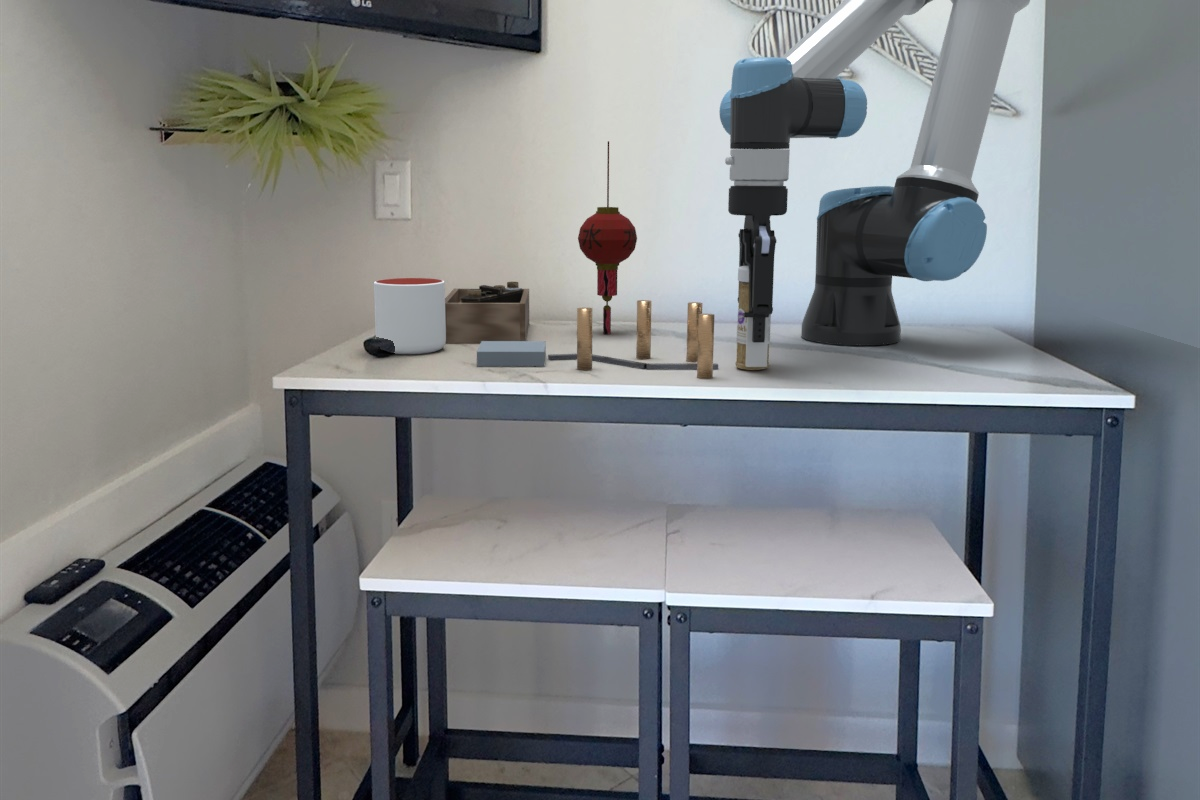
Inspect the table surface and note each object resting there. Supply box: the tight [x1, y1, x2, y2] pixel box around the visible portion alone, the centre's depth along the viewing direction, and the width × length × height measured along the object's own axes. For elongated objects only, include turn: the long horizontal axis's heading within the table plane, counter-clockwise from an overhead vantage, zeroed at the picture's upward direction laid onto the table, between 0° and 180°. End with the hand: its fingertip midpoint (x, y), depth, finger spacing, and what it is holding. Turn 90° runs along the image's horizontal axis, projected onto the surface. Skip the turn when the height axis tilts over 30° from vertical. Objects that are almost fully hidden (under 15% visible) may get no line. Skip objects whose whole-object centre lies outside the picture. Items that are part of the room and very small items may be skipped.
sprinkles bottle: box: [735, 266, 772, 371], centre depth 144 cm, size 5×5×14 cm
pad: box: [476, 340, 547, 368], centre depth 150 cm, size 9×9×2 cm
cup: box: [373, 277, 447, 355], centre depth 157 cm, size 10×10×10 cm
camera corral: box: [445, 288, 530, 344], centre depth 174 cm, size 13×21×6 cm, turn 2°
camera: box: [460, 281, 524, 303], centre depth 172 cm, size 16×7×8 cm, turn 157°
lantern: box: [577, 140, 638, 335], centre depth 172 cm, size 10×10×30 cm
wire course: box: [547, 299, 719, 380], centre depth 145 cm, size 23×16×8 cm
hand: (752, 362), depth 145 cm, fingers closed on sprinkles bottle, 4 cm apart
